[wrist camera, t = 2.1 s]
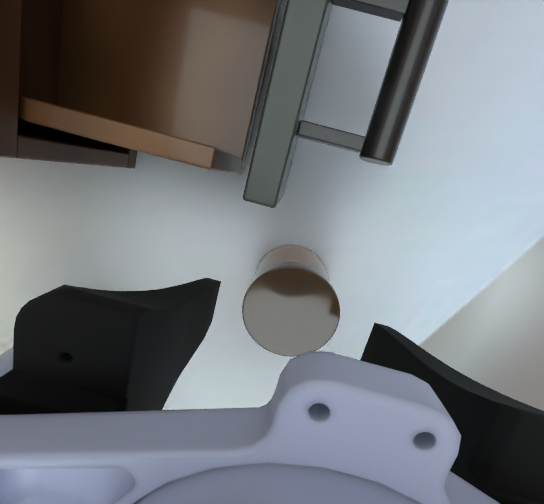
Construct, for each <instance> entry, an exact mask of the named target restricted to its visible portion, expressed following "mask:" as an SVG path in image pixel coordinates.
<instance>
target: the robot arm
mask: <svg viewBox="0 0 544 504" xmlns="http://www.w3.org/2000/svg"><path fill="white" fill-rule="evenodd" d="M220 283H221V281H217V280H213V279H210V278H204V279H200V280H196V281H193V282H189V283H186V284H182V285H178V286H173V287H169V288H164V289H157V290H148V291H107V290H96V289H88V288H81V287H75V286H69V285H63V286H61V287H58V288H56V289H54V290H52V291H50V292H48V293H45V294H43V295H41V296H39V297H37V298H35V299H32V300H30V301H29V302H28V303H27V304H25V305H24V306H23V307H22V308H21V310H20V312H19V313H18V315H17V317H16V321H15V326H14V345H13V348H11V349H10V350H8V351H6V352H5V353H3V354H1V355H0V504H544V411H542V410H539V409H536V408H534V407H532V406H529V405H526V404H524V403H522V402H519V401H517V400H514V399H512V398H510V397H508V396H505V395H503V394H501V393H499V392H497V391H494V390H492V389H490V388H488V387H486V386H484V385H482V384H480V383H478V382H476V381H474V380H472V379H470V378H469V377H467V376H465V375H463V374H462V373H460V372H458V371H456V370H454V369H453V368H451V367H449V366H448V365H446V364H445V363H443V362H442V361H440V360H438V359H437V358H435V357H434V356H432V355H431V354H429V353H428V352H426V351H425V350H424V349H422V348H421V347H419V346H418V345H416V344H415V343H414V342H412V341H411V340H409V339H408V338H406V337H405V336H404V335H402V334H401V333H399V332H398V331H396V330H394V329H392V328H391V327H388V326H385V325H381V324H377V323H374V326H373V329H372V331H371V334H370V336H369V339H368V342H367V344H366V347H365V349H364V352H363V355H362V357H361V360H356V359H353V358H349V357H345V356H341V355H338V354H334V353H330V352H315V351H307V352H305V353H303V354H301V355H299V356H297V357H295V358H293V359H290V361H289V362H288V364H287V365H286V367H285V368H284V370H283V371H282V372H281V374H280V377H279V380H278V383H277V387H276V390H275V393H274V395H273V397H272V399H271V400H270V401H269V403H268V404H266V405H264V406H262V407H257V408H223V409H189V410H162V408H163V406H164V404H165V402H166V400H167V398H168V396H169V394H170V392H171V390H172V388H173V387H174V385H175V383H176V381H177V379H178V377H179V376H180V374H181V372H182V371H183V369H184V368H185V366H186V365H187V363H188V362H189V360H190V359H191V357H192V356H193V354H194V353H195V351H196V350H197V348H198V347H199V345H200V344H201V342H202V341H203V339H204V337H205V335H206V333H207V331H208V329H209V326H210V324H211V322H212V318H213V314H214V309H215V305H216V301H217V296H218V292H219V287H220Z"/></svg>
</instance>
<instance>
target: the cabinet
mask: <svg viewBox="0 0 544 504" xmlns="http://www.w3.org/2000/svg"><path fill="white" fill-rule="evenodd" d="M21 11H22V0H0V157H9V158H21V159H32V160H44V161H55V162H67V163H78V164H90V165H101V166H113V167H124V168H135V162H136V154H137V151H136V150H133V149H129V148H125V147H121V146H117V145H114V144H110V143H106V142H102V141H99V140H95V139H91V138H87V137H83V136H80V135H76V134H72V133H68V132H65V131H61V130H57V129H53V128H49V127H46V126H42V125H38V124H34V123H31V122H27V121H23V120H19V119H18V104H19V73H20V42H21Z"/></svg>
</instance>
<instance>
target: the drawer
mask: <svg viewBox="0 0 544 504" xmlns="http://www.w3.org/2000/svg"><path fill="white" fill-rule="evenodd" d="M279 4H280V0H22V11H21V42H20V73H19V104H18V119H19V120H23V121H27V122H31V123H34V124H38V125H42V126H46V127H49V128H53V129H57V130H61V131H65V132H68V133H72V134H76V135H80V136H83V137H87V138H91V139H95V140H99V141H102V142H106V143H110V144H114V145H117V146H121V147H125V148H129V149H133V150H136V151H140V152H144V153H148V154H152V155H155V156H159V157H163V158H167V159H170V160H174V161H178V162H182V163H186V164H189V165H193V166H197V167H201V168H204V169H208V170H214V171H221V172H228V173H234V174H242V171H243V166H244V162H245V157H246V153H247V148H248V144H249V139H250V135H251V130H252V126H253V121H254V117H255V112H256V108H257V103H258V99H259V94H260V90H261V85H262V81H263V76H264V72H265V67H266V63H267V58H268V54H269V49H270V45H271V40H272V36H273V31H274V27H275V22H276V18H277V13H278V9H279ZM447 4H448V0H288V1H287V5H286V10H285V14H284V18H283V23H282V27H281V32H280V36H279V40H278V45H277V49H276V54H275V58H274V62H273V67H272V71H271V76H270V80H269V84H268V89H267V93H266V98H265V102H264V107H263V111H262V115H261V120H260V124H259V129H258V133H257V137H256V142H255V146H254V151H253V155H252V159H251V164H250V168H249V173H248V177H247V181H246V186H245V190H244V195H243V199H244V200H245V201H249V202H253V203H256V204H260V205H264V206H268V207H271V208H275V206H276V205H277V204H278V202H279V201H280V199H281V198H282V196H283V193H284V189H285V185H286V181H287V177H288V173H289V169H290V166H291V162H292V158H293V154H294V150H295V146H296V143H297V139H298V137H300V138H304V139H308V140H311V141H315V142H319V143H323V144H327V145H330V146H334V147H338V148H342V149H346V150H349V151H353V152H357V153H359V152H360V155H359V158H360V159H362V160H364V161H367V162H371V163H375V164H380V165H392V163H393V161H394V158H395V155H396V152H397V149H398V146H399V143H400V140H401V137H402V135H403V132H404V129H405V126H406V123H407V120H408V117H409V114H410V111H411V108H412V106H413V103H414V100H415V97H416V94H417V91H418V88H419V85H420V82H421V80H422V77H423V74H424V71H425V68H426V65H427V62H428V59H429V56H430V53H431V51H432V48H433V45H434V42H435V39H436V36H437V33H438V30H439V27H440V24H441V22H442V19H443V16H444V13H445V10H446V7H447ZM332 5H337V6H341V7H345V8H349V9H353V10H357V11H360V12H364V13H368V14H372V15H376V16H380V17H383V18H387V19H391V20H395V21H401V20H402V22H401V25H400V28H399V31H398V34H397V38H396V41H395V44H394V47H393V50H392V53H391V57H390V60H389V63H388V66H387V69H386V72H385V76H384V79H383V82H382V85H381V88H380V91H379V95H378V98H377V101H376V104H375V107H374V111H373V114H372V117H371V120H370V123H369V126H368V130H367V133H366V136H365V137H364V136H360V135H356V134H353V133H349V132H345V131H341V130H337V129H334V128H330V127H326V126H322V125H318V124H315V123H311V122H307V121H303V116H304V112H305V108H306V104H307V100H308V97H309V93H310V89H311V85H312V81H313V77H314V74H315V70H316V66H317V62H318V58H319V54H320V51H321V47H322V43H323V39H324V35H325V31H326V28H327V24H328V20H329V16H330V12H331V8H332ZM402 18H403V19H402Z"/></svg>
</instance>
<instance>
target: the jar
mask: <svg viewBox="0 0 544 504" xmlns="http://www.w3.org/2000/svg"><path fill="white" fill-rule="evenodd" d="M242 314H243V320H244V324H245V326H246V329H247V331H248V332H249V334H250V335H251V337H252V338H253V339H254V340H255V341H256V342H257V343H258V344H259V345H260V346H261V347H263V348H264V349H266V350H268V351H270V352H272V353H275V354H278V355H283V356H299V355H301V354H303V353H305V352H307V351H316V350H317V349H319V348H321V347H322V346H323V345H325V344H326V343H327V342H328V341H329V340H330V338H331V337H332V336H333V334H334V332H335V331H336V328H337V326H338V323H339V318H340V306H339V301H338V298H337V295H336V292H335V290H334V288H333V286H332V284H331V282H330V279H329V277H328V274H327V271H326V269H325V266H324V264H323V262H322V261H321V259H320V258H319V257H318V256H317V255H316V254H315V253H314V252H312V251H311V250H309V249H307V248H305V247H302V246H298V245H285V246H280V247H277V248H275V249H273V250H272V251H270V252H269V253H267V254H266V255H265V256H264V257H263V259H262V260H261V262H260V263H259V265H258V268H257V270H256V272H255V275H254V277H253V280H252V282H251V284H250V285H249V287H248V289H247V292H246V294H245V297H244V300H243V305H242Z"/></svg>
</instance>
